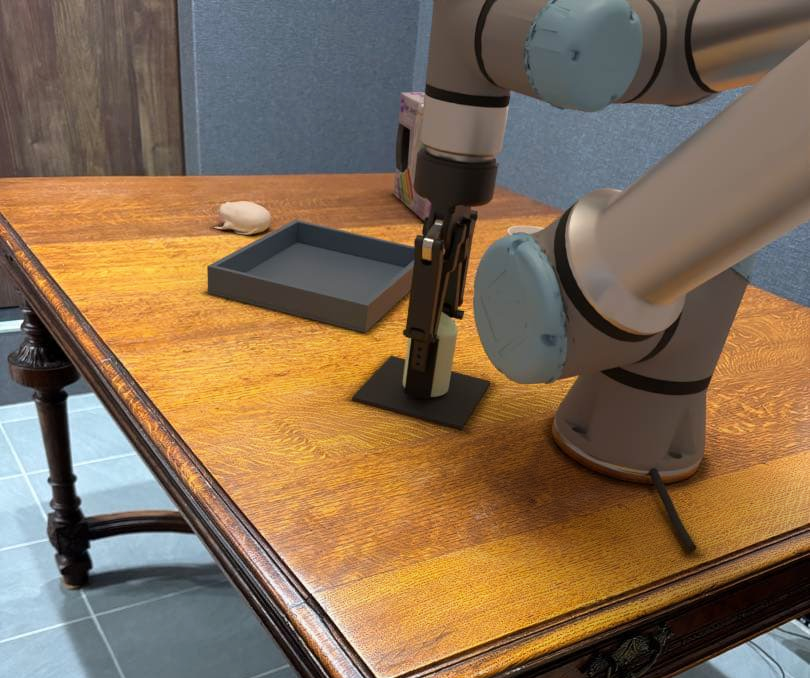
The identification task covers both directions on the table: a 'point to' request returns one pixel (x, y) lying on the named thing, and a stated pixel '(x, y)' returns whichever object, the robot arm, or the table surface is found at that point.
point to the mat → (441, 409)
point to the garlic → (244, 217)
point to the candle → (440, 355)
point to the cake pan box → (409, 153)
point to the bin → (317, 274)
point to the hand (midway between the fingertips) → (425, 384)
